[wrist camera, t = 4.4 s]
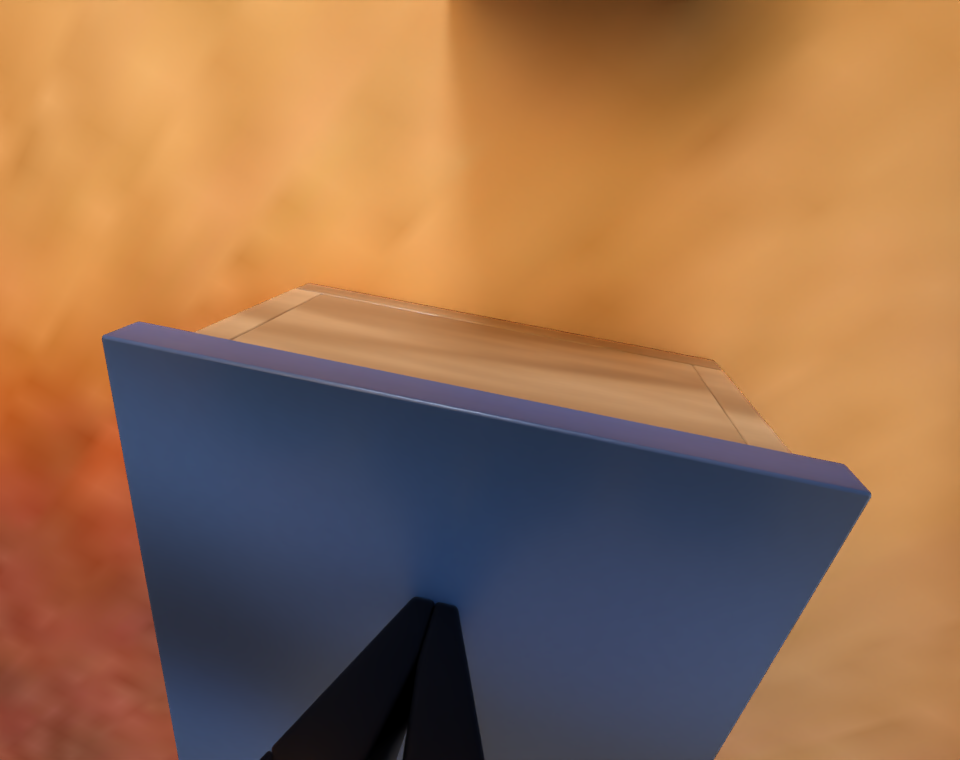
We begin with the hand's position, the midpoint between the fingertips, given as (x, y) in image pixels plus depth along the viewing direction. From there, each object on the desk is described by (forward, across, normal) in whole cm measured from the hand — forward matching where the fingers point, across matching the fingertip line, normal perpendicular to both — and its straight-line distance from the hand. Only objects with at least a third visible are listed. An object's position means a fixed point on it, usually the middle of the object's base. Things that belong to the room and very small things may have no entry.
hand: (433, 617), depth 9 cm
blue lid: (+1, 0, +3) cm, 3 cm away
